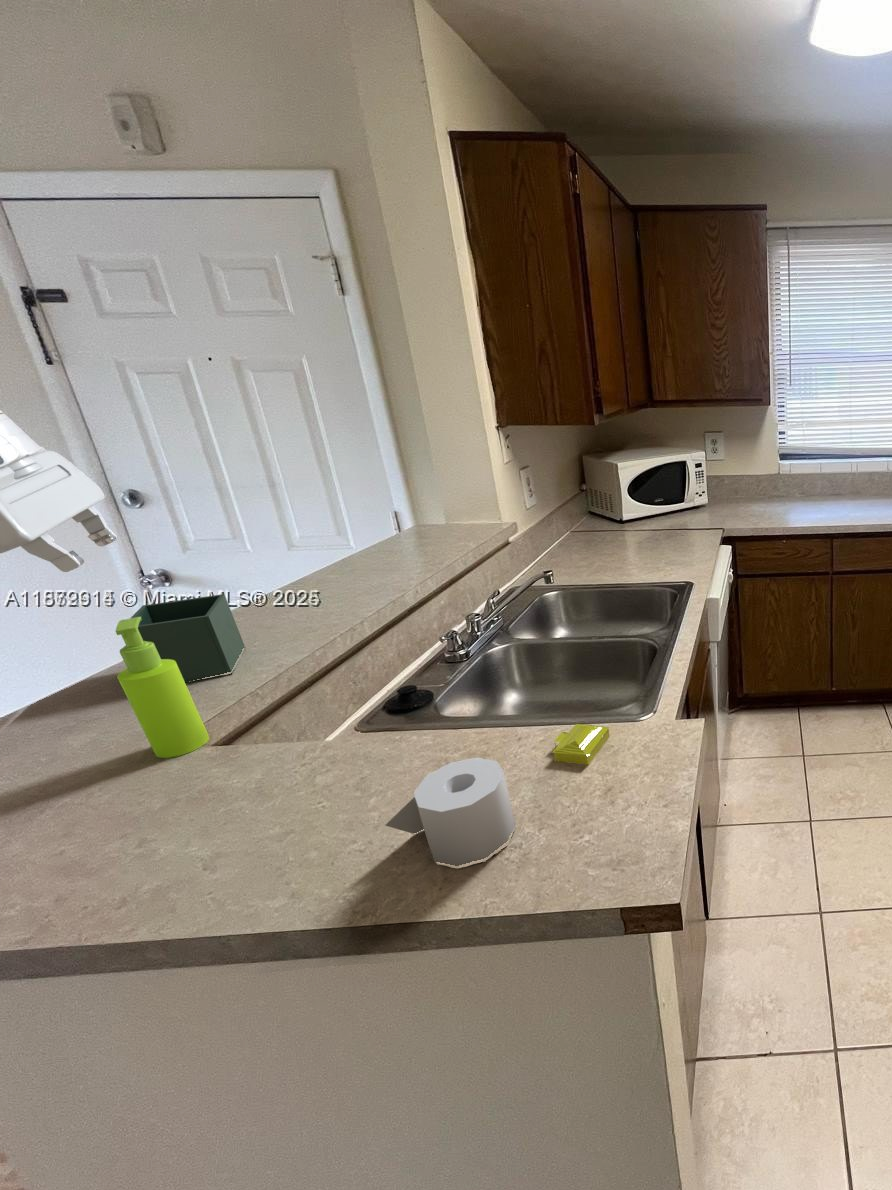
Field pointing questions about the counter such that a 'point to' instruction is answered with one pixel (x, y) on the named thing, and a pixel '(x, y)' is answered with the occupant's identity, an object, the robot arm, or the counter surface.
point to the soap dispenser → (158, 696)
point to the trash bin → (193, 634)
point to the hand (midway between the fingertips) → (93, 554)
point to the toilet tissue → (460, 811)
